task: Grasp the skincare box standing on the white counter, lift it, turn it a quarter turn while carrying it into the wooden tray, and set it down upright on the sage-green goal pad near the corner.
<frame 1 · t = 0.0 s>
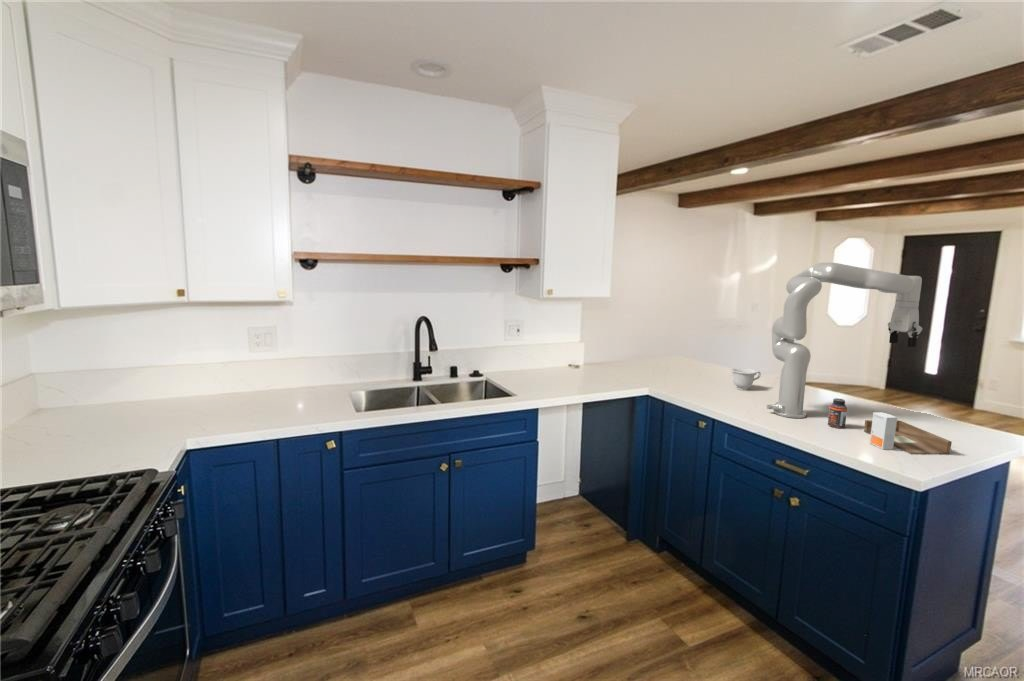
hand: (901, 344, 206), 31 cm above the worktop, fingers open, 9 cm apart
teacup: (745, 389, 255), on the worktop
supplement bottle: (836, 426, 196), on the worktop
wooden tray: (904, 442, 178), on the worktop
skincare box: (881, 447, 174), on the worktop
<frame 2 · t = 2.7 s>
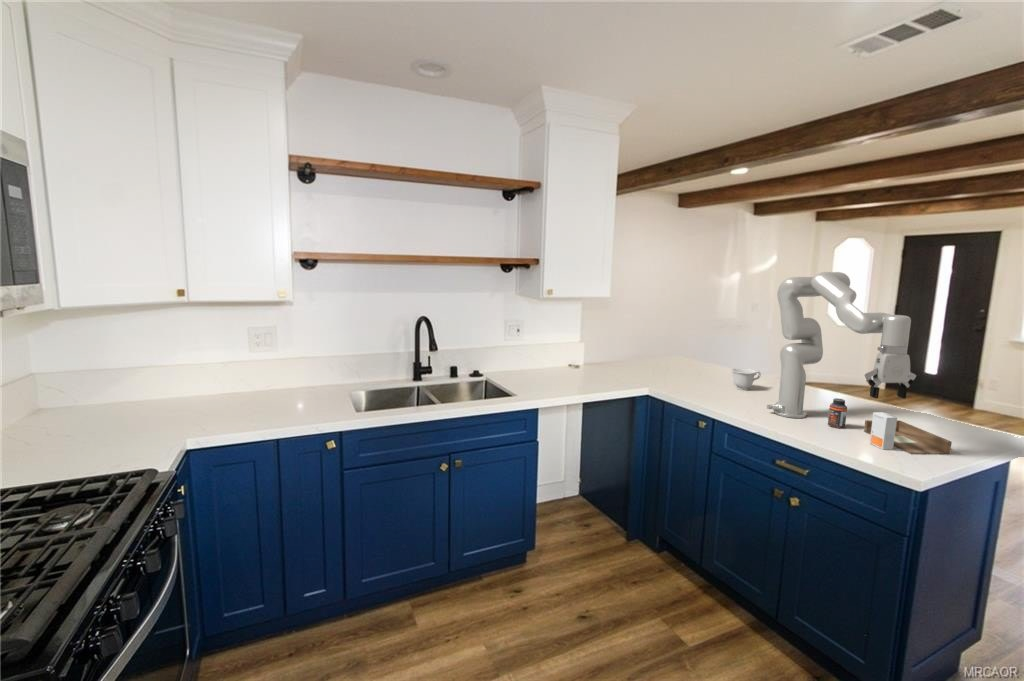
hand: (887, 397, 171), 18 cm above the worktop, fingers open, 9 cm apart
nothing on the worktop moved.
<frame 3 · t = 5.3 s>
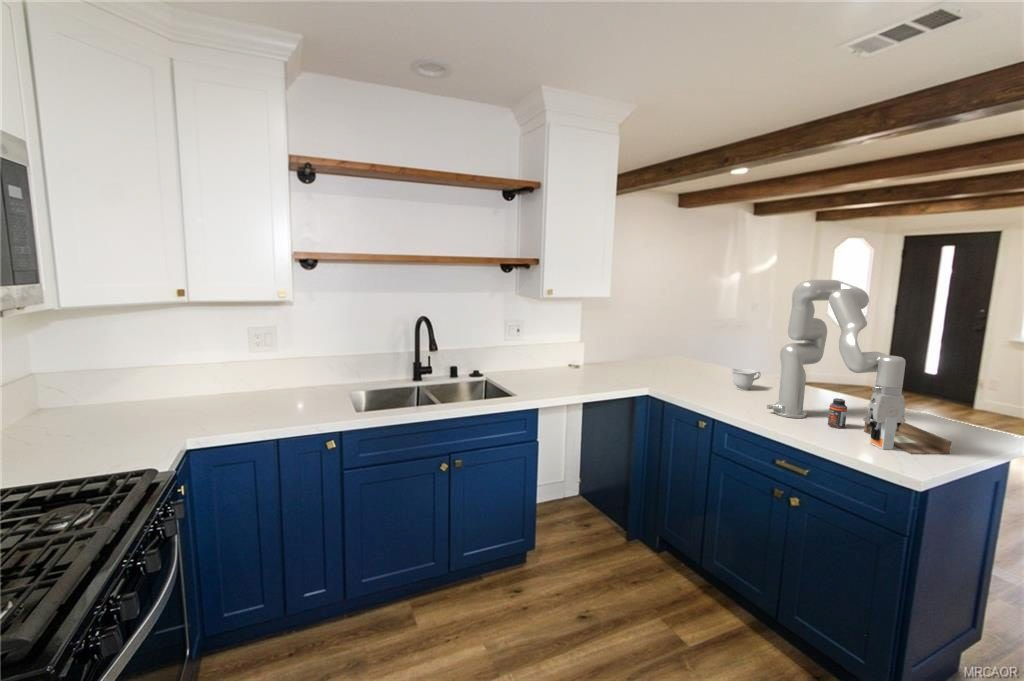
hand: (882, 438, 174), 3 cm above the worktop, fingers closed on skincare box, 4 cm apart
skincare box: (881, 446, 174), on the worktop, touching gripper
everything else where it was.
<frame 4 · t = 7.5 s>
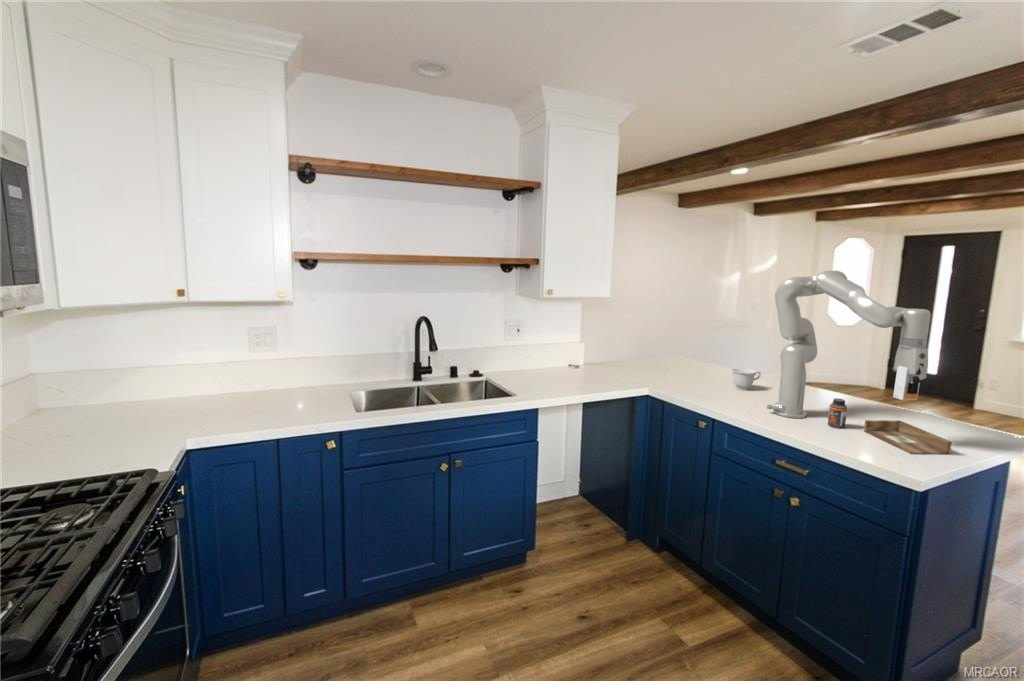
hand: (906, 391, 177), 19 cm above the worktop, fingers closed on skincare box, 4 cm apart
skincare box: (905, 399, 177), point 16 cm above the worktop, touching gripper
everything else where it was.
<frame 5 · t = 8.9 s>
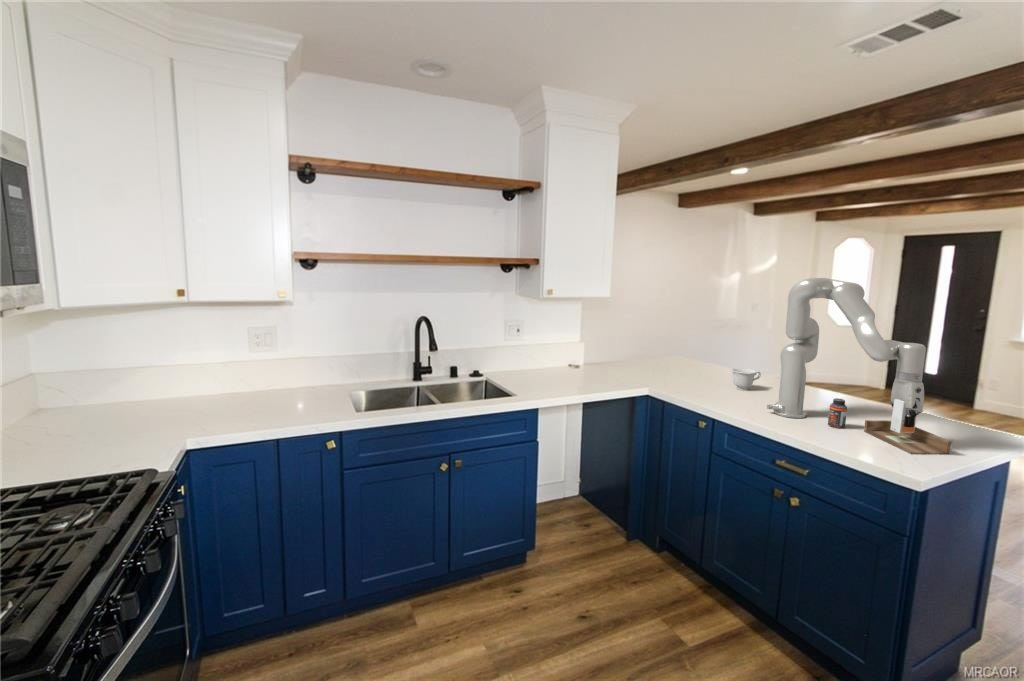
hand: (903, 424, 179), 7 cm above the worktop, fingers closed on skincare box, 4 cm apart
skincare box: (902, 432, 179), point 3 cm above the worktop, touching gripper
everything else where it was.
when the fingers open (4 cm above the worktop, at t = 9.9 s): skincare box stays where it is, resting on wooden tray.
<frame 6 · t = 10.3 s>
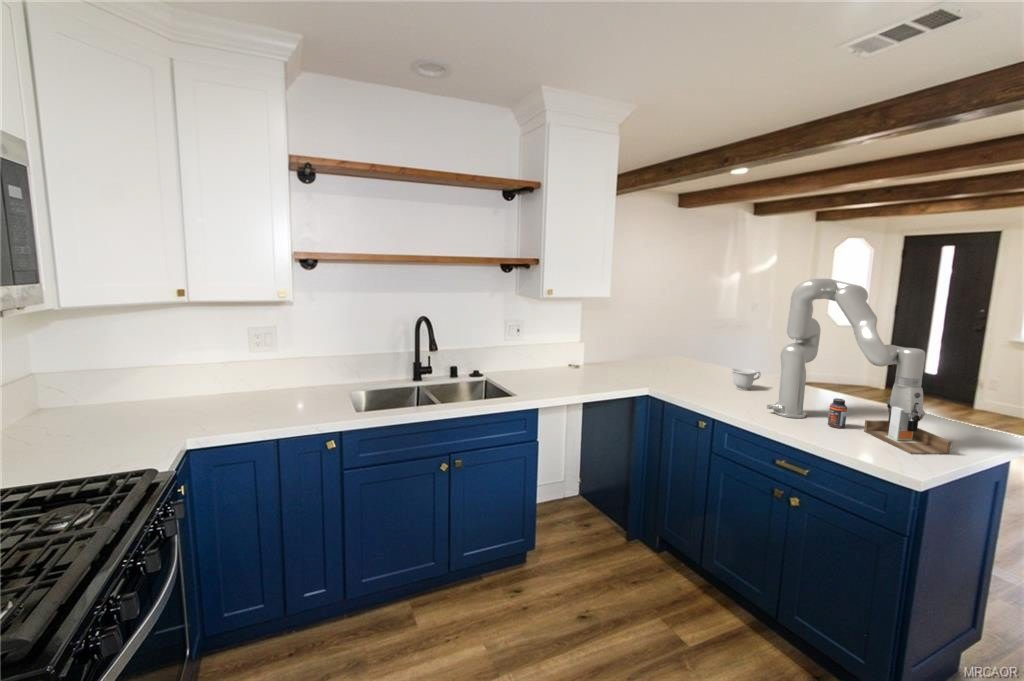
hand: (902, 426, 179), 5 cm above the worktop, fingers open, 8 cm apart
skincare box: (900, 439, 180), resting on wooden tray
everything else where it was.
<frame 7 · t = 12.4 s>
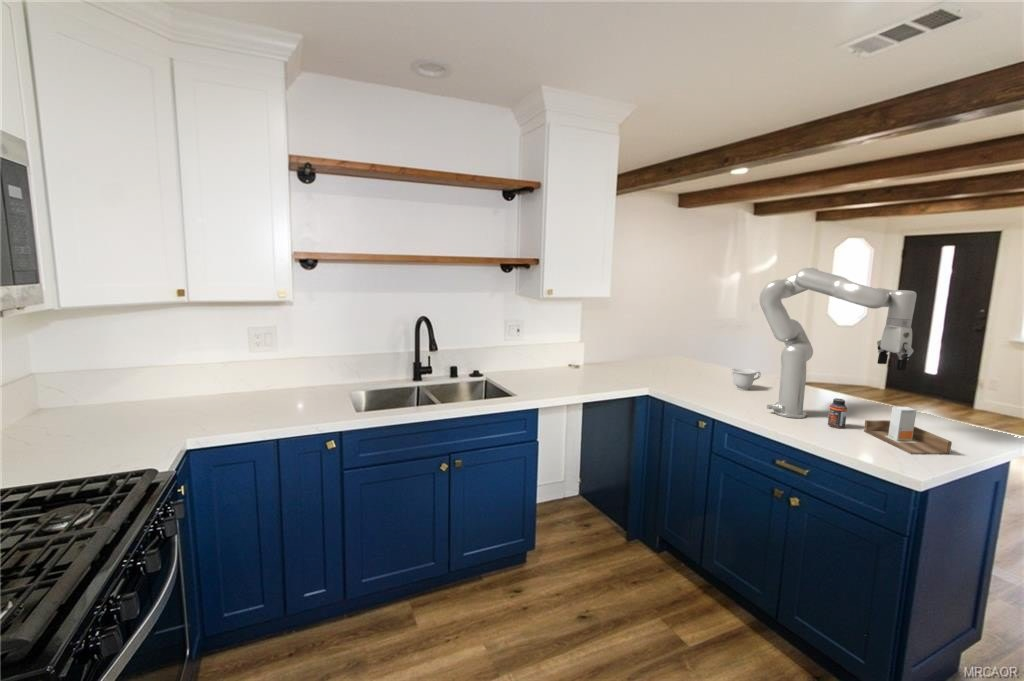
hand: (890, 366, 185), 26 cm above the worktop, fingers open, 9 cm apart
nothing on the worktop moved.
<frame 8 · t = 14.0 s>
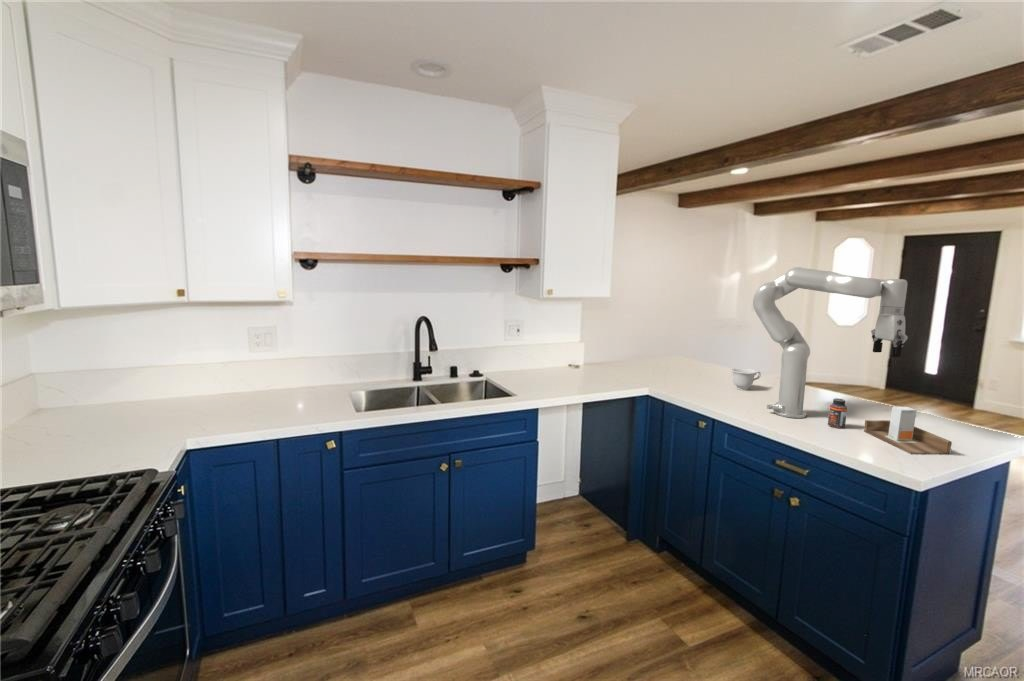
hand: (886, 354, 189), 30 cm above the worktop, fingers open, 9 cm apart
nothing on the worktop moved.
at the end: skincare box inside the target area on the wooden tray (0.1 cm from its centre), point 0.4 cm above the wooden tray's base; skincare box tilted 0°; the gripper is holding nothing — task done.
